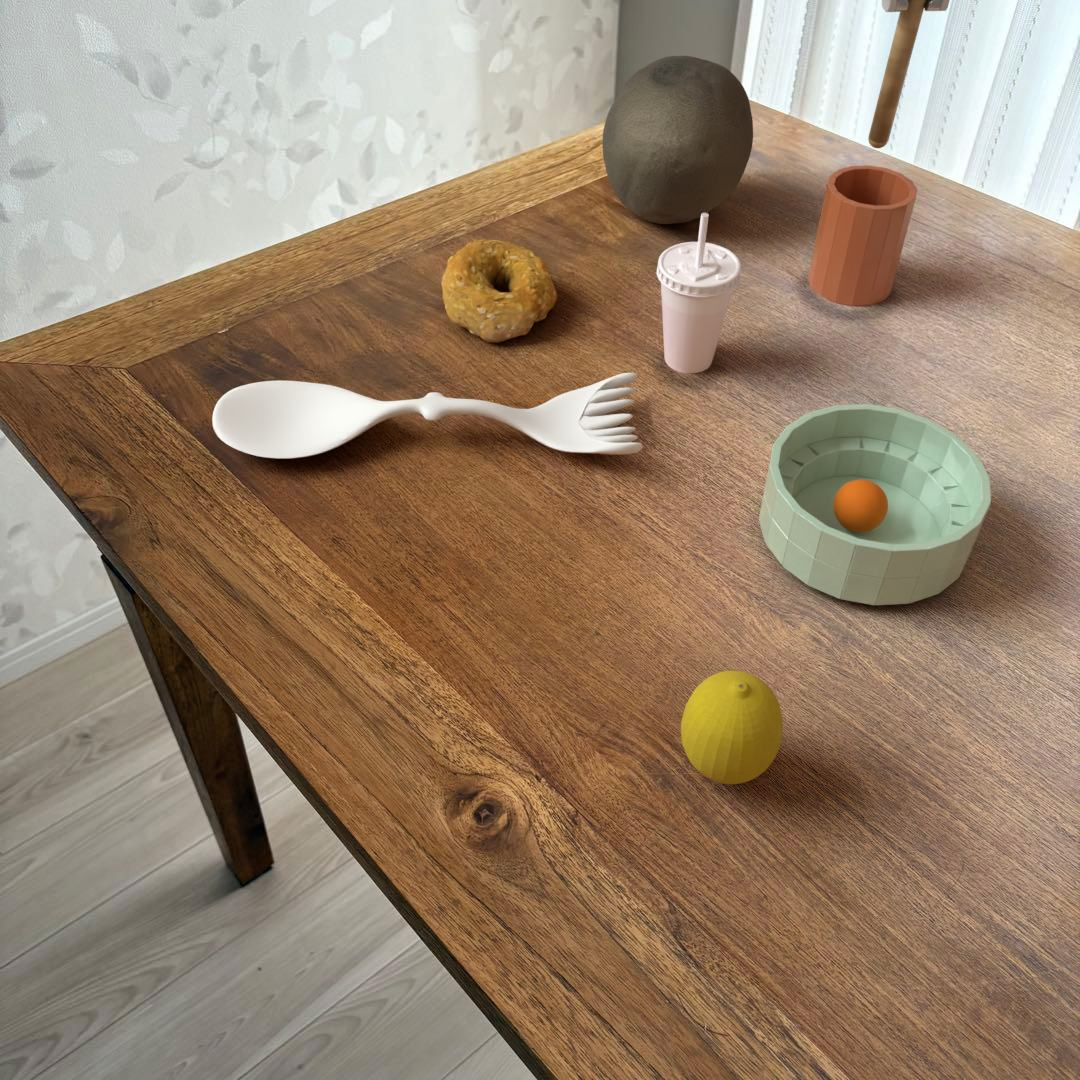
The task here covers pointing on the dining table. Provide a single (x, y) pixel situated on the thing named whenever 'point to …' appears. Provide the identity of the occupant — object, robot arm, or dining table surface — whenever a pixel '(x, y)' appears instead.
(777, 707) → the lemon
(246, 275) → the dining table surface
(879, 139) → the stick
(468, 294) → the bagel
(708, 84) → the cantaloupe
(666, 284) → the smoothie
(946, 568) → the bowl
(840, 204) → the crock
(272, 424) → the spoon
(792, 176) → the dining table surface
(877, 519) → the ball
